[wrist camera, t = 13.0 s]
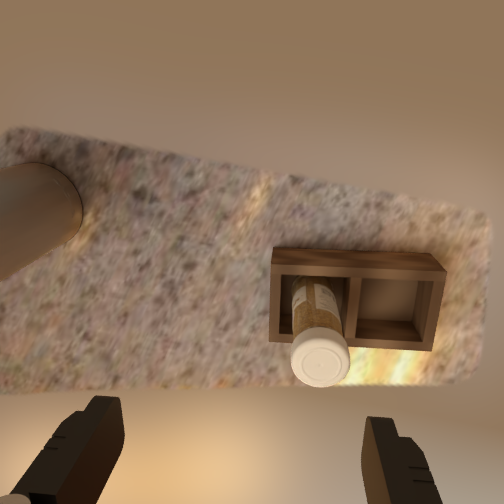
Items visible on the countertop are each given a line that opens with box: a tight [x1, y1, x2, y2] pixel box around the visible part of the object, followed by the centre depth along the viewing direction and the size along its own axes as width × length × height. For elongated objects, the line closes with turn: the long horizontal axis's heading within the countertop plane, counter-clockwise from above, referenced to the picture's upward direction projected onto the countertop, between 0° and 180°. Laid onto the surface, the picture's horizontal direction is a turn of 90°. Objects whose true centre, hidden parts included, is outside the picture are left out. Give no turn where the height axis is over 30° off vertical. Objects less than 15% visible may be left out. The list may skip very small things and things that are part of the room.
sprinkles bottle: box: [291, 275, 350, 387], centre depth 37 cm, size 5×5×14 cm
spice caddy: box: [269, 247, 447, 351], centre depth 41 cm, size 16×9×5 cm, turn 90°
